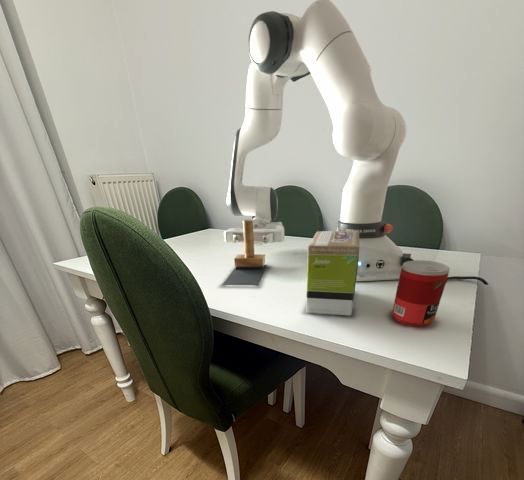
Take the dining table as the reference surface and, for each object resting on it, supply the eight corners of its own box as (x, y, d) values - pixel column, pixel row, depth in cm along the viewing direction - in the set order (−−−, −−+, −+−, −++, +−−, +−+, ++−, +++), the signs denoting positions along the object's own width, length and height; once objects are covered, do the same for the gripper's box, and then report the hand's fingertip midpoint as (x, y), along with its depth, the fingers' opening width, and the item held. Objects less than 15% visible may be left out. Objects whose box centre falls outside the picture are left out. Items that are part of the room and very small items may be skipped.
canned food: (431, 331, 55) (448, 274, 49) (387, 322, 59) (398, 268, 53) (435, 315, 61) (451, 262, 55) (394, 308, 64) (406, 258, 58)
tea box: (313, 289, 76) (316, 229, 68) (353, 292, 73) (361, 229, 66) (304, 313, 64) (307, 243, 56) (351, 317, 61) (362, 244, 53)
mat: (267, 266, 96) (267, 264, 95) (257, 287, 79) (257, 285, 79) (237, 266, 97) (237, 264, 97) (222, 286, 80) (222, 284, 80)
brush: (265, 265, 94) (263, 218, 87) (263, 269, 90) (261, 221, 83) (238, 265, 96) (234, 219, 88) (235, 269, 92) (230, 221, 84)
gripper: (228, 222, 102) (217, 229, 91) (286, 221, 99) (282, 228, 88) (230, 241, 106) (220, 250, 94) (286, 240, 103) (282, 250, 91)
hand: (250, 240), depth 91 cm, fingers open, 8 cm apart
